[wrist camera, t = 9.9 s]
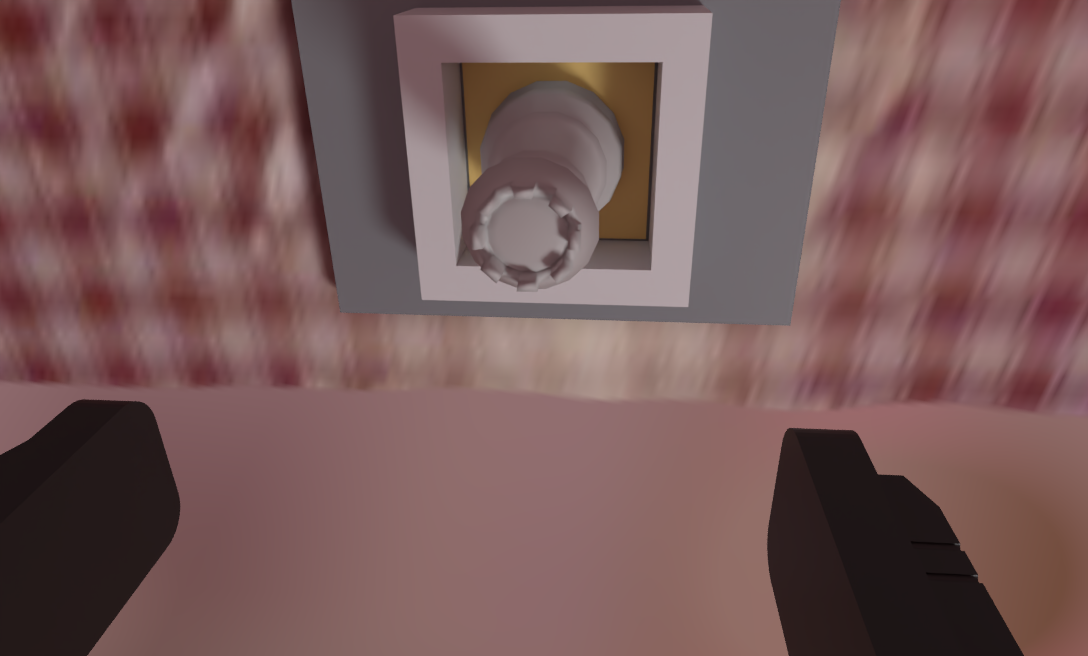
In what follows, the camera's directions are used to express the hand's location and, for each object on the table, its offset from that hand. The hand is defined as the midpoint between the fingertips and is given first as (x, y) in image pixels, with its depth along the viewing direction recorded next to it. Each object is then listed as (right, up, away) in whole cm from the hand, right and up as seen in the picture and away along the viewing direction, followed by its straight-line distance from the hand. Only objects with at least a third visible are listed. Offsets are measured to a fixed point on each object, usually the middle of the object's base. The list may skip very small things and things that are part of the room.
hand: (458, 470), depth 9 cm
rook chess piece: (+1, +8, +14) cm, 16 cm away
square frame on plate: (+2, +8, +15) cm, 17 cm away
